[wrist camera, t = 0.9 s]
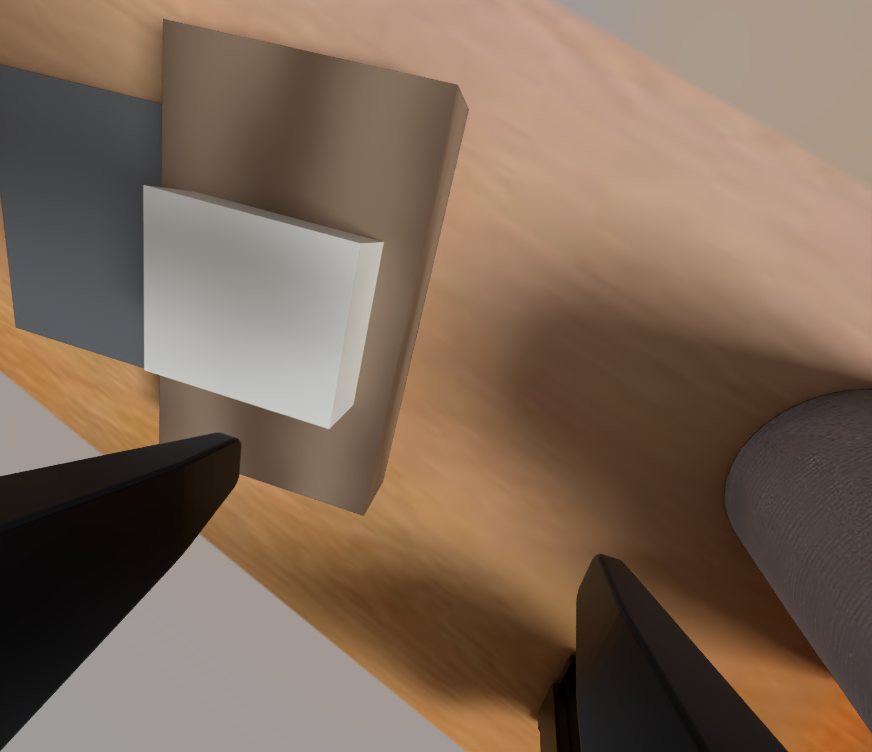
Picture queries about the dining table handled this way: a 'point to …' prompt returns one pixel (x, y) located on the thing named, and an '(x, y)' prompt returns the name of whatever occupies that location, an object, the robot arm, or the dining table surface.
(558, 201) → the dining table surface
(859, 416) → the pillar candle
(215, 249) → the coaster
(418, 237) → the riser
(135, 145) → the mat
